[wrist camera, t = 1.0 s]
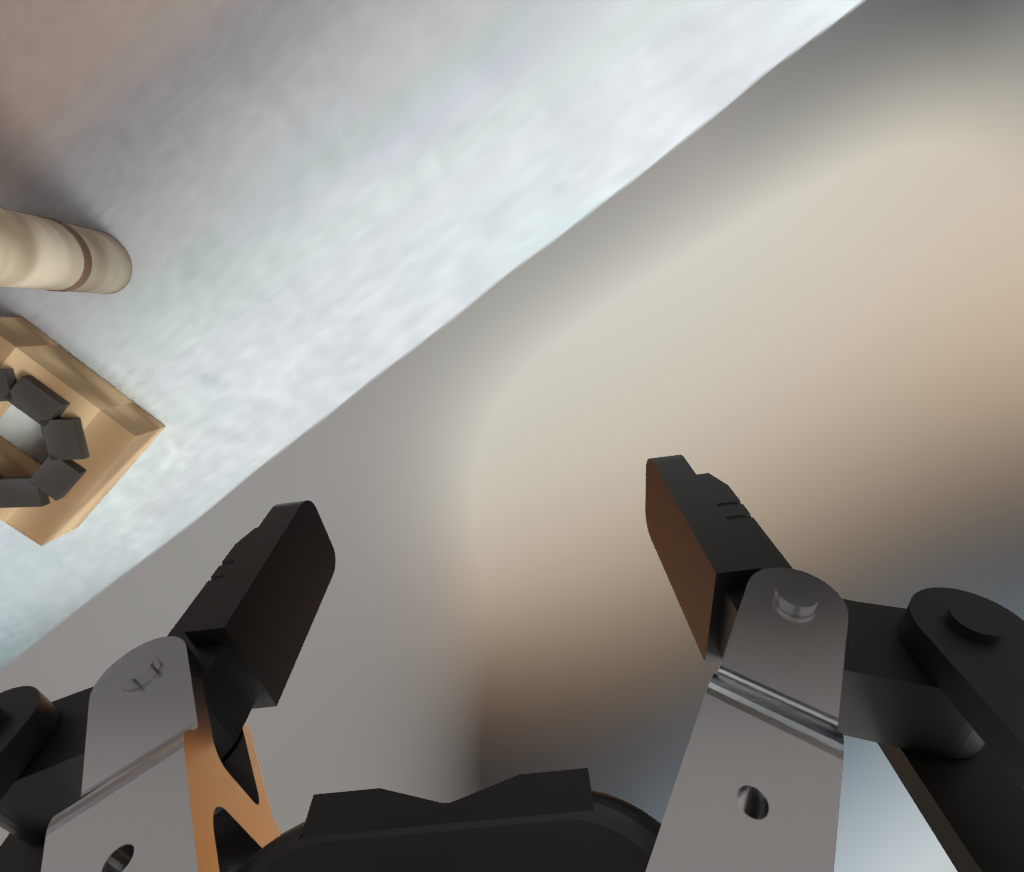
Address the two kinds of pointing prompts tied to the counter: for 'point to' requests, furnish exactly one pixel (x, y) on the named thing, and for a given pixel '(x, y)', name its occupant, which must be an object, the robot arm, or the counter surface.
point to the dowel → (59, 256)
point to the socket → (62, 434)
